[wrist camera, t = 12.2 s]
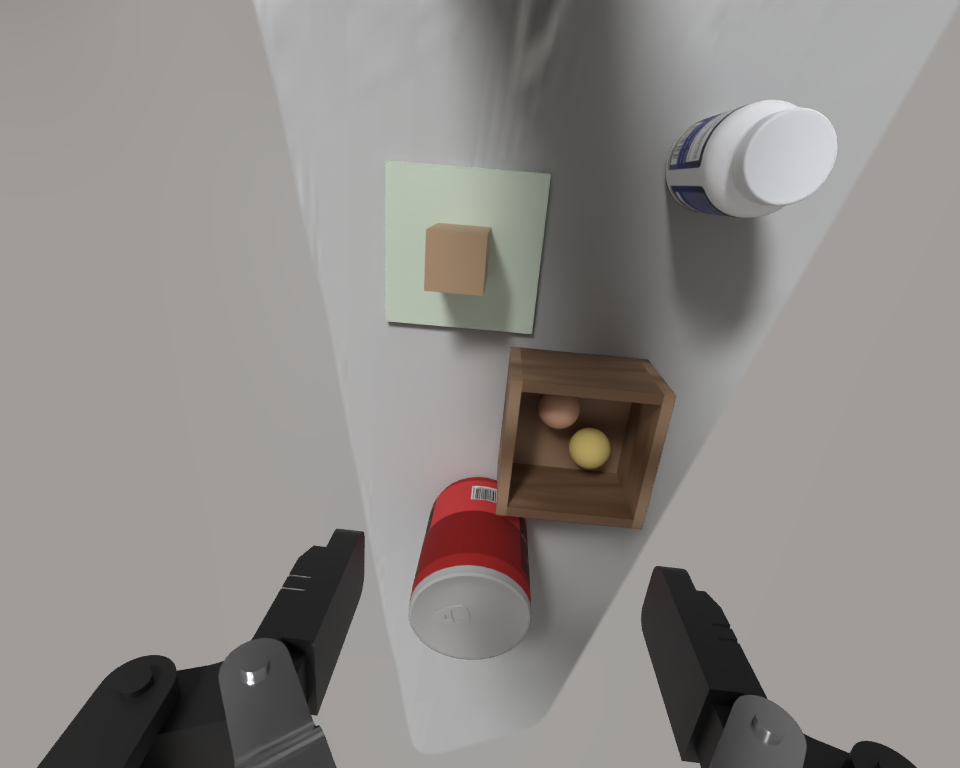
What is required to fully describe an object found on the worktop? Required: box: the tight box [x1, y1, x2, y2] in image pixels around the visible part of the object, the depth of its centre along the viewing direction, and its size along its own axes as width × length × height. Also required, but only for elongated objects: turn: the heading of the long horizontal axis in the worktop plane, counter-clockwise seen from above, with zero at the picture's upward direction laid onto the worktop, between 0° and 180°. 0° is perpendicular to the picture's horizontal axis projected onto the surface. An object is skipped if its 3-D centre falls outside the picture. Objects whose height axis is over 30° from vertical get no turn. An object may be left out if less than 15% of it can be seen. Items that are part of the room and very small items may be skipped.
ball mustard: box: [569, 428, 611, 469], centre depth 36 cm, size 3×3×3 cm
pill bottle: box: [666, 100, 837, 218], centre depth 26 cm, size 5×5×10 cm
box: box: [496, 347, 676, 529], centre depth 35 cm, size 10×10×6 cm
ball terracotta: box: [538, 394, 580, 429], centre depth 35 cm, size 3×3×3 cm
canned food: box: [409, 477, 531, 660], centre depth 37 cm, size 8×8×11 cm
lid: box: [385, 160, 551, 334], centre depth 31 cm, size 10×10×6 cm
